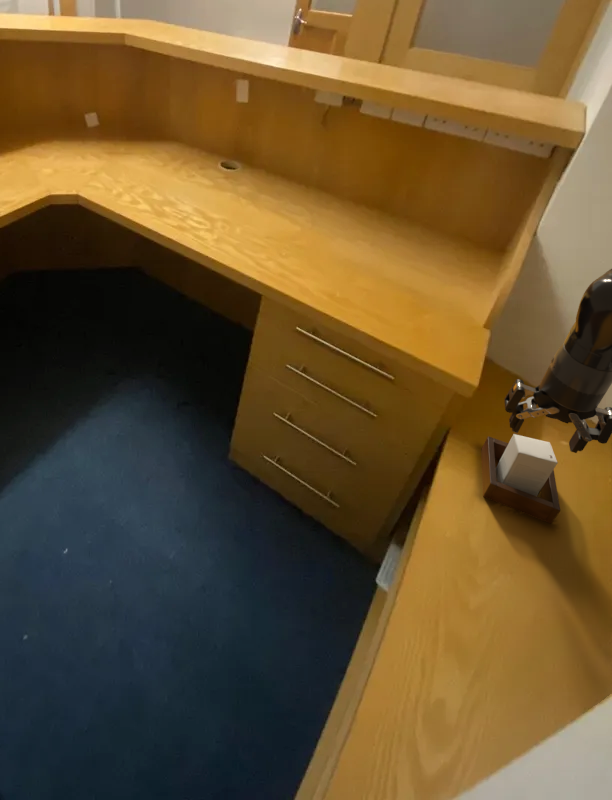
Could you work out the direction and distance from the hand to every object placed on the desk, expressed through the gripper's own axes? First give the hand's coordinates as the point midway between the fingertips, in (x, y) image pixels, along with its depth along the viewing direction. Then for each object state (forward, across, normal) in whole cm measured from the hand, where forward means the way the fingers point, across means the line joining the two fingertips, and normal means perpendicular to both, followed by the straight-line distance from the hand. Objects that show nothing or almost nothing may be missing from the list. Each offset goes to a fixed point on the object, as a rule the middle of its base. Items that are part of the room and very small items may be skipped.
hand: (542, 438), depth 89 cm
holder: (+15, 0, 0) cm, 15 cm away
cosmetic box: (+15, 0, 0) cm, 15 cm away
